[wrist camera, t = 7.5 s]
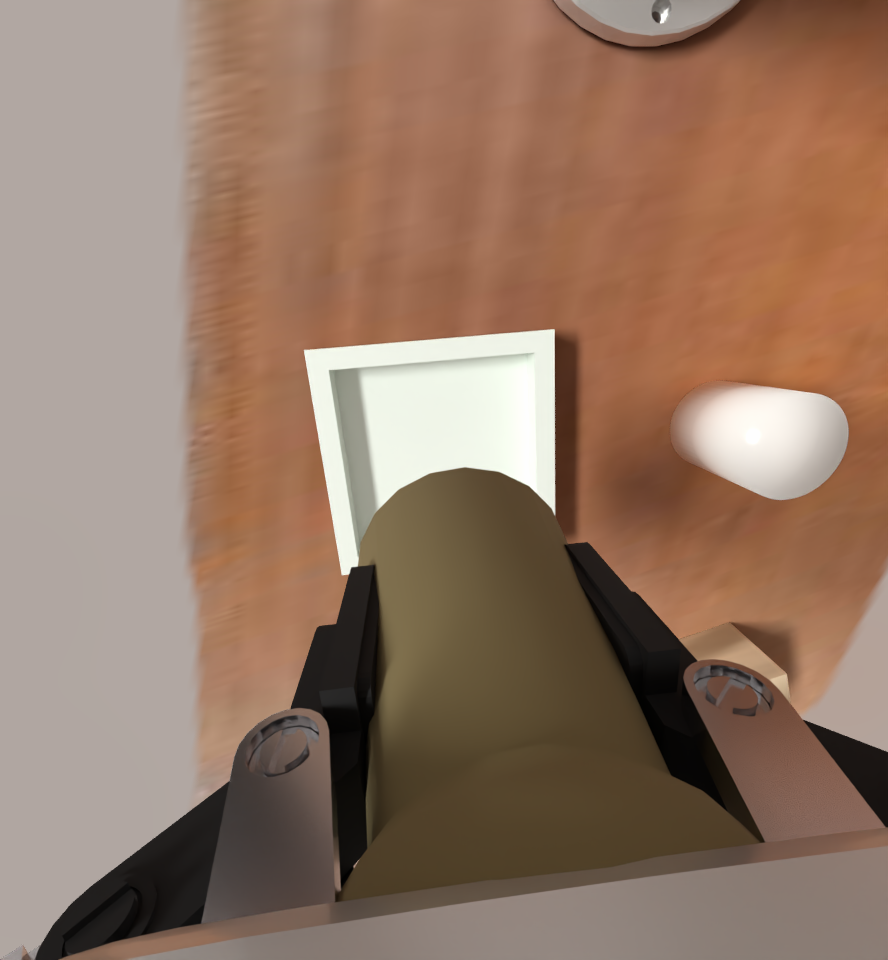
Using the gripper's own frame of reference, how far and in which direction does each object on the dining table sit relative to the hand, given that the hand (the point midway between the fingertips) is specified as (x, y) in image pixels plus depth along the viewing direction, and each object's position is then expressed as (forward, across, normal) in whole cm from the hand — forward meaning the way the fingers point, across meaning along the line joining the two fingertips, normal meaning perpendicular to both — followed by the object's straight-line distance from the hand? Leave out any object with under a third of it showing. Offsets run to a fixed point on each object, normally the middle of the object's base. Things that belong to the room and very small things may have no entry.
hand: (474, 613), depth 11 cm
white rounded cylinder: (+16, -16, 0) cm, 22 cm away
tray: (+16, 0, 0) cm, 16 cm away
